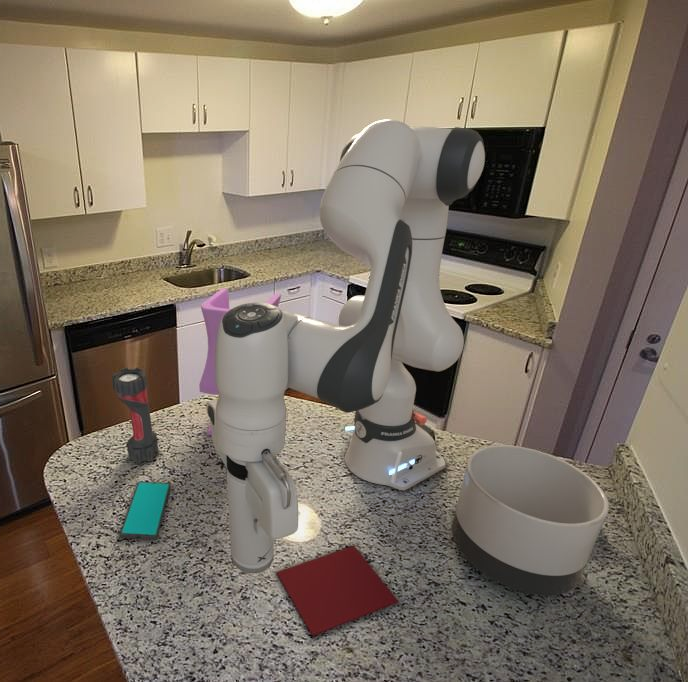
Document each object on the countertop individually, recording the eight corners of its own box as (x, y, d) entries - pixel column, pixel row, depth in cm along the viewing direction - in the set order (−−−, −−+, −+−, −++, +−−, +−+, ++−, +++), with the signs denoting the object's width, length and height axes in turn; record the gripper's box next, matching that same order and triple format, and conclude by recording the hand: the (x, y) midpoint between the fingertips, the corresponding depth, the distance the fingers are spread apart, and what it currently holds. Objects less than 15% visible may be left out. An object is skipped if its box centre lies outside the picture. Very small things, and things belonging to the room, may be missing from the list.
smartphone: (119, 534, 90) (138, 481, 103) (120, 537, 90) (138, 484, 104) (157, 537, 89) (170, 483, 102) (157, 540, 89) (171, 486, 103)
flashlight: (116, 461, 111) (104, 377, 102) (136, 443, 117) (127, 362, 108) (141, 471, 108) (132, 385, 98) (161, 453, 114) (154, 370, 104)
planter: (450, 506, 95) (467, 434, 88) (565, 539, 87) (595, 462, 79) (445, 580, 80) (466, 500, 72) (585, 629, 71) (624, 544, 64)
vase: (277, 416, 127) (281, 294, 113) (259, 449, 114) (261, 315, 100) (224, 405, 133) (222, 287, 119) (201, 435, 120) (195, 307, 106)
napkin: (353, 547, 86) (354, 545, 86) (398, 602, 76) (398, 600, 76) (276, 573, 82) (276, 571, 82) (312, 636, 71) (312, 634, 71)
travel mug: (274, 577, 65) (274, 462, 57) (227, 571, 67) (221, 458, 58) (277, 542, 71) (277, 432, 63) (234, 537, 72) (229, 429, 64)
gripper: (315, 474, 51) (308, 563, 57) (242, 388, 69) (242, 463, 75) (263, 488, 50) (261, 579, 55) (202, 397, 67) (205, 473, 73)
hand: (250, 512), depth 65 cm, fingers closed on travel mug, 6 cm apart
